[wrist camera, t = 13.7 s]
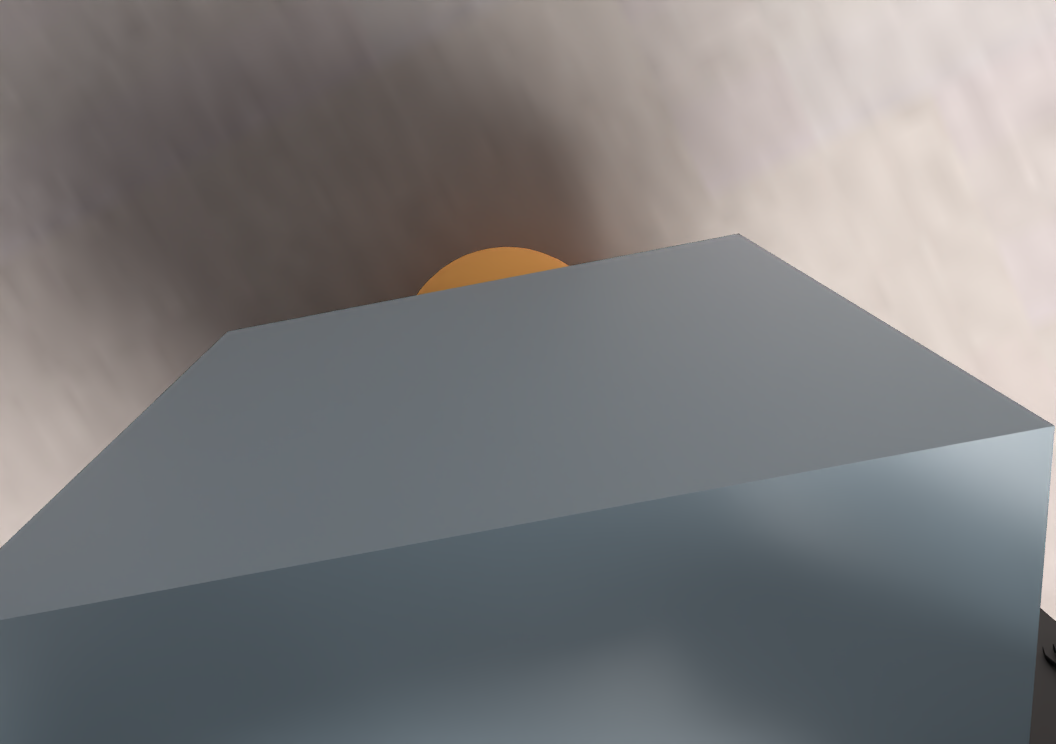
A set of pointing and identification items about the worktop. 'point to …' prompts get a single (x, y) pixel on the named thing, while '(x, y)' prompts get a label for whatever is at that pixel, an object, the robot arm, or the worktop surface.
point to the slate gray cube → (547, 529)
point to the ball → (490, 267)
